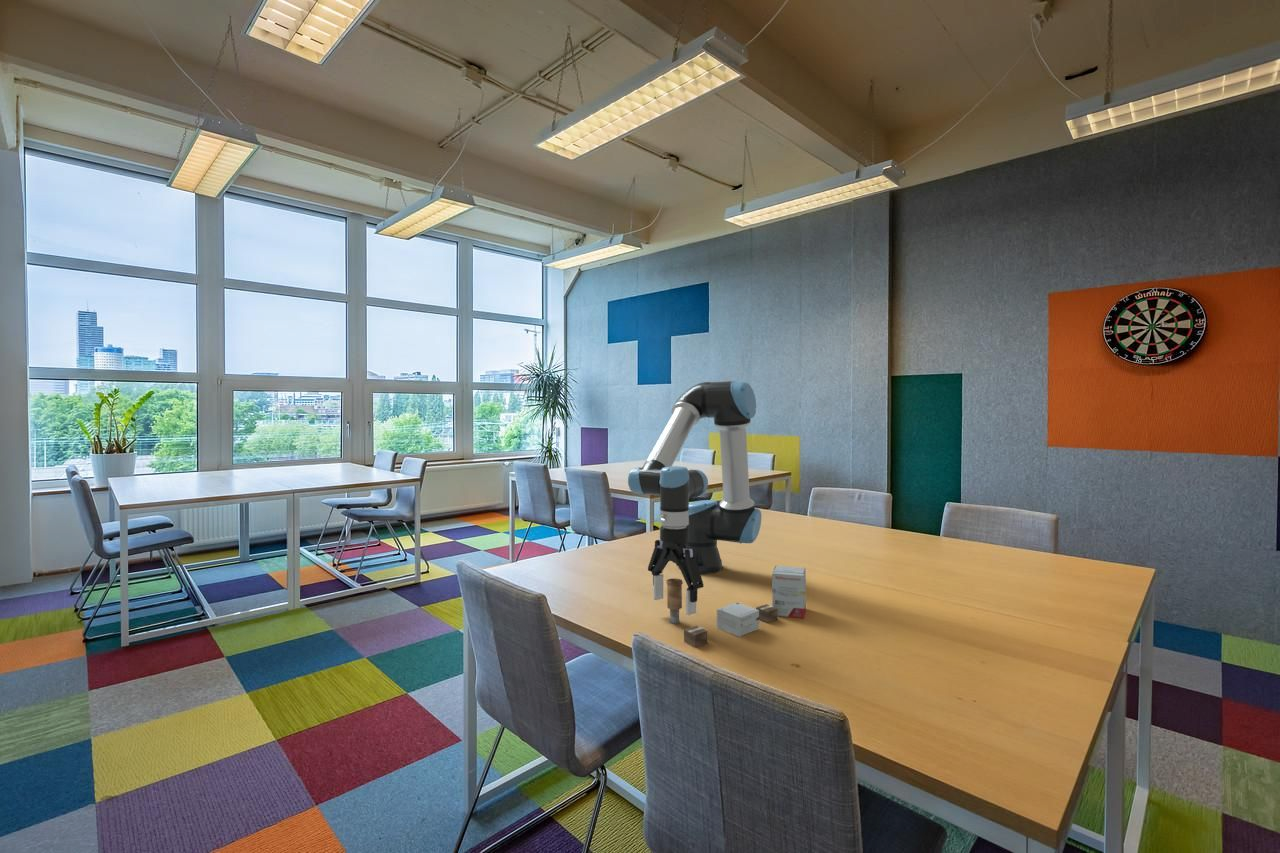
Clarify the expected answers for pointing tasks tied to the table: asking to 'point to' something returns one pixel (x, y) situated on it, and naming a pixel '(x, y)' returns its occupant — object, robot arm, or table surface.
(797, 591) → the ink box
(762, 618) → the joist marker
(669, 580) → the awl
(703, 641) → the joist marker
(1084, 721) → the table surface
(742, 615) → the small box
